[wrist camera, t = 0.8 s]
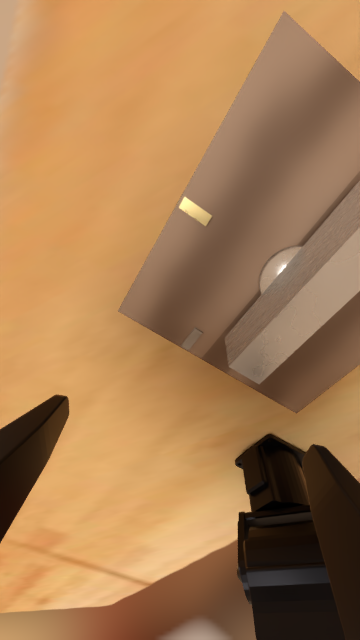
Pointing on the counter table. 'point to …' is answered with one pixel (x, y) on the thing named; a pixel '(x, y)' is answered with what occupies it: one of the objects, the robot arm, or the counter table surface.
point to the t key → (299, 293)
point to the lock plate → (260, 215)
